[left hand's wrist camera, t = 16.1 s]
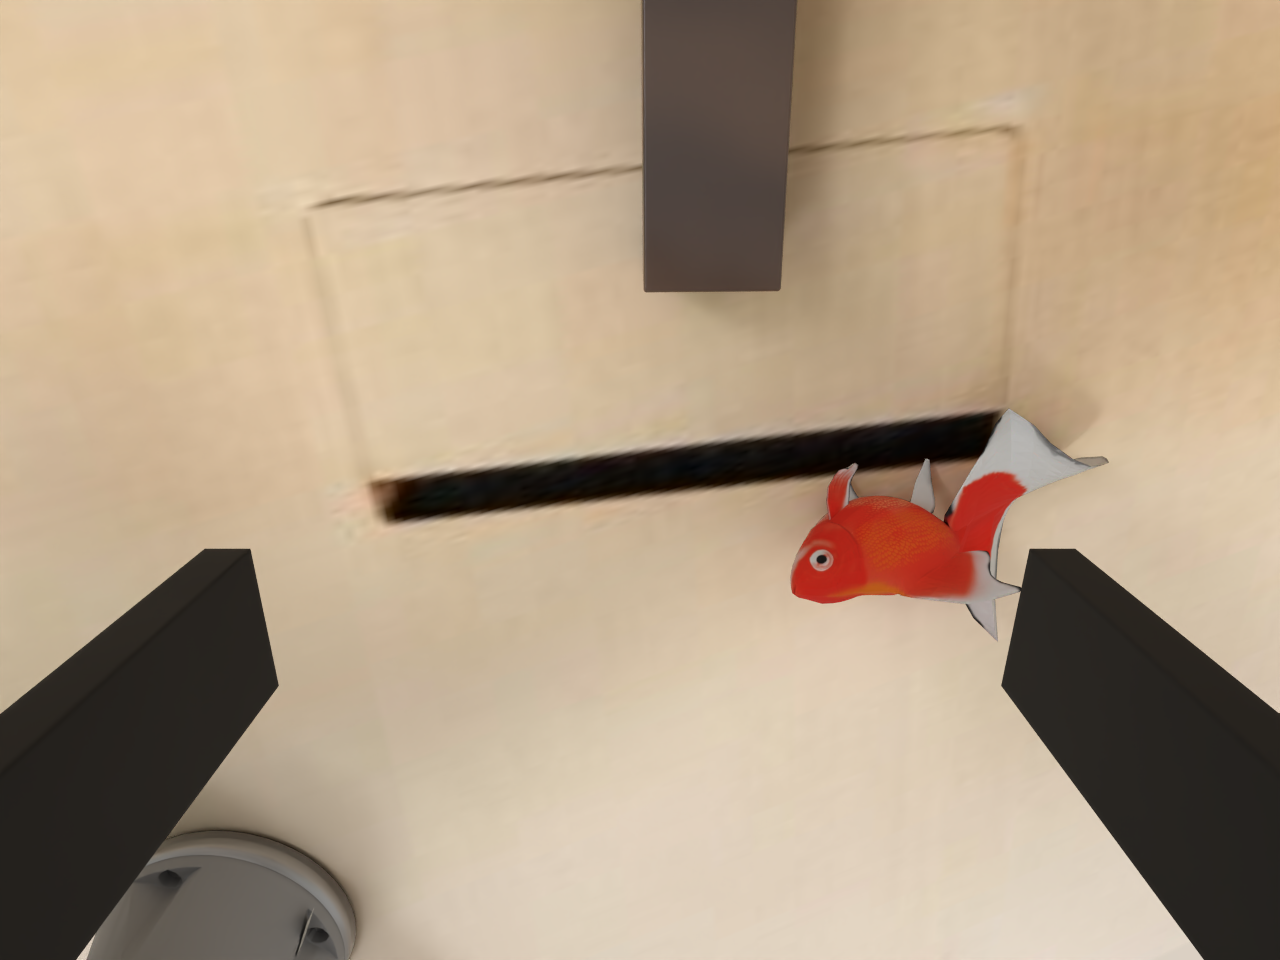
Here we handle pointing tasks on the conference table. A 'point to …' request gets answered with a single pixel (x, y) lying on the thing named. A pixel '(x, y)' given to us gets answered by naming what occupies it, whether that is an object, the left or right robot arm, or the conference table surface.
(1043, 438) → the fish
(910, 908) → the conference table surface
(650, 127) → the walnut box
